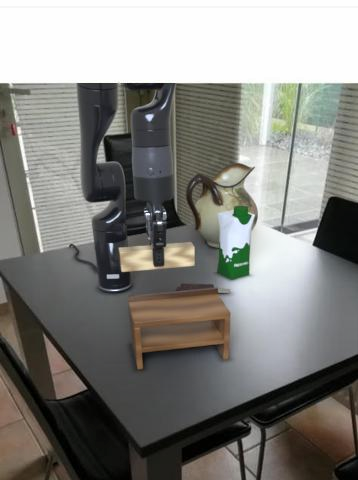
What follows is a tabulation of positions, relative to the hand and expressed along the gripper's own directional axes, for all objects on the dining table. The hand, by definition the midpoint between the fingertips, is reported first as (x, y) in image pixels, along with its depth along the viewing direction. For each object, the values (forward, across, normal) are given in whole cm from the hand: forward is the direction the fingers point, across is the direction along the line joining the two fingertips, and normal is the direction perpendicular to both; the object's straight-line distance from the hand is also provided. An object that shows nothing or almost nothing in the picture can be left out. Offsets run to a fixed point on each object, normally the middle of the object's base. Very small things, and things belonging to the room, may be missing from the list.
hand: (157, 262), depth 98 cm
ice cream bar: (+20, +29, -16) cm, 38 cm away
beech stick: (+1, 0, 0) cm, 1 cm away
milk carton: (+20, +41, -28) cm, 53 cm away
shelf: (+20, -2, -4) cm, 20 cm away
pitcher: (+19, +70, -33) cm, 79 cm away
